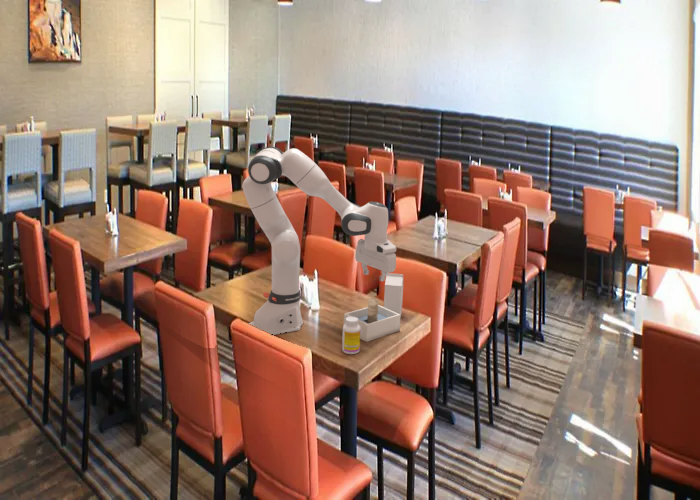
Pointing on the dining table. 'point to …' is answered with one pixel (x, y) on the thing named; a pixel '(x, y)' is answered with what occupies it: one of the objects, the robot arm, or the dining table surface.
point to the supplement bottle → (351, 336)
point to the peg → (372, 310)
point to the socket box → (376, 323)
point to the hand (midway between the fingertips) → (373, 277)
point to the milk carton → (393, 292)
